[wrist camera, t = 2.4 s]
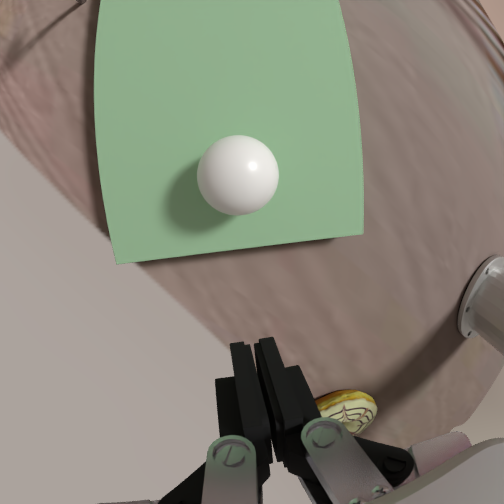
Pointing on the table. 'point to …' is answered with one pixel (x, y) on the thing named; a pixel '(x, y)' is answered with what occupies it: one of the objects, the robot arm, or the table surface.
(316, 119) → the mat
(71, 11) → the table surface
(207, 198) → the ball
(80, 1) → the flag pin
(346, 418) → the decorated donut
